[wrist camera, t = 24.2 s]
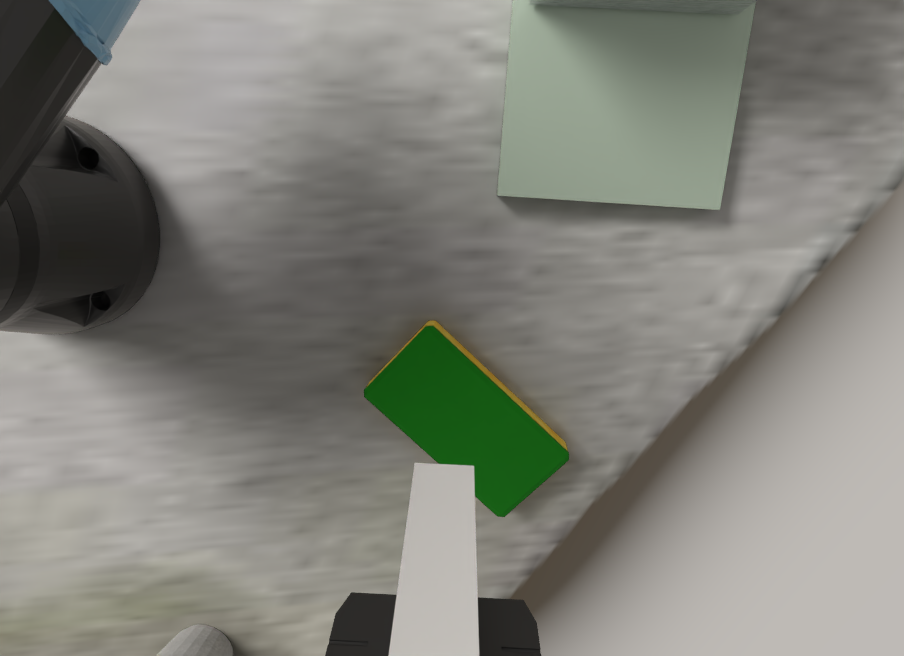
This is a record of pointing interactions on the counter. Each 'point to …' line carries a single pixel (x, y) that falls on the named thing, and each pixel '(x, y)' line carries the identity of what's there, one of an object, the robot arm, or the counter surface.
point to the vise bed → (621, 104)
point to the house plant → (198, 643)
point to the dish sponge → (466, 418)
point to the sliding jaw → (657, 5)
